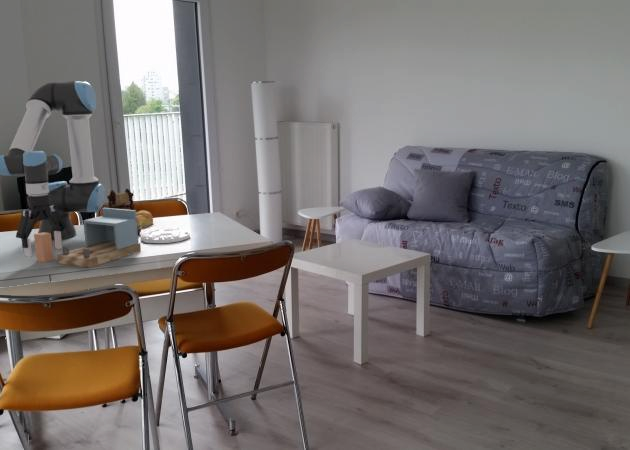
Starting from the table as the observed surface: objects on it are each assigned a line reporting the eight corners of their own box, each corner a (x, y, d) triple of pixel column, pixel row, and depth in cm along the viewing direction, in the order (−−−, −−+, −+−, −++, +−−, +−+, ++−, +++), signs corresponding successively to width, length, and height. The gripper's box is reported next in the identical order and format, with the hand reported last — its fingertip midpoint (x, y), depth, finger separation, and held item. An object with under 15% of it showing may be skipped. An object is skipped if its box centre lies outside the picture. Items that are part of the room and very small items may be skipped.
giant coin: (177, 246, 252) (177, 238, 251) (132, 244, 256) (131, 237, 255) (196, 235, 271) (196, 228, 271) (154, 233, 275) (153, 226, 274)
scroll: (132, 230, 281) (128, 185, 277) (147, 235, 270) (144, 189, 266) (99, 235, 271) (95, 189, 267) (114, 241, 260) (110, 193, 256)
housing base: (56, 262, 227) (55, 246, 226) (109, 247, 250) (108, 232, 248) (90, 267, 220) (88, 250, 219) (140, 250, 243) (139, 235, 242)
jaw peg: (36, 261, 230) (34, 234, 228) (45, 258, 233) (43, 232, 231) (44, 262, 228) (41, 235, 226) (53, 259, 232) (50, 233, 230)
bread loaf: (147, 236, 285) (155, 220, 284) (126, 227, 282) (133, 211, 281) (150, 226, 305) (157, 211, 304) (130, 217, 303) (137, 202, 302)
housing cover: (85, 245, 238) (82, 212, 236) (106, 239, 248) (104, 207, 246) (117, 249, 232) (115, 215, 229) (138, 243, 241) (135, 210, 239)
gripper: (15, 200, 213) (22, 261, 217) (73, 190, 235) (77, 246, 239) (0, 198, 216) (7, 259, 220) (58, 189, 238) (63, 244, 242)
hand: (44, 252), depth 230 cm, fingers open, 13 cm apart
